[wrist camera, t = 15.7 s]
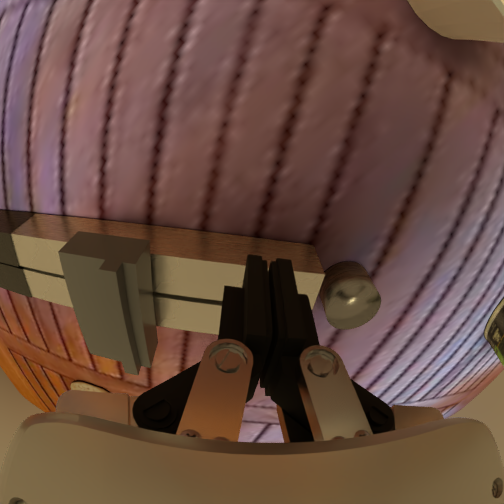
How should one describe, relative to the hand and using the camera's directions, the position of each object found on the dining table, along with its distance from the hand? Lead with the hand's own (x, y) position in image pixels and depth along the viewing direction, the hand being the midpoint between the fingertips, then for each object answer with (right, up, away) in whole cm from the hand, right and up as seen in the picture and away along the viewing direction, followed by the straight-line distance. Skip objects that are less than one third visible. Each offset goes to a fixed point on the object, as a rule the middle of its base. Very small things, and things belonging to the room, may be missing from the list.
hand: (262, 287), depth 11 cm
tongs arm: (-9, +2, +5) cm, 10 cm away
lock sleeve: (-8, -1, +3) cm, 8 cm away
